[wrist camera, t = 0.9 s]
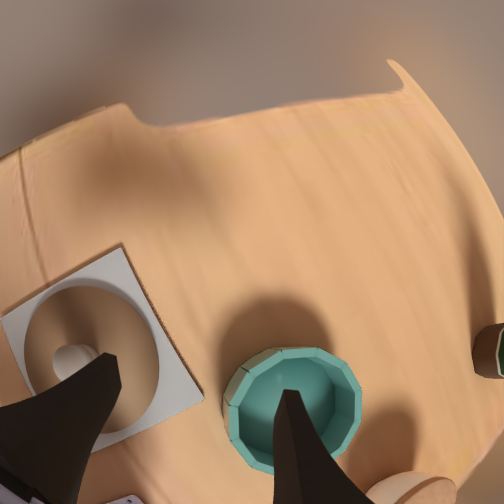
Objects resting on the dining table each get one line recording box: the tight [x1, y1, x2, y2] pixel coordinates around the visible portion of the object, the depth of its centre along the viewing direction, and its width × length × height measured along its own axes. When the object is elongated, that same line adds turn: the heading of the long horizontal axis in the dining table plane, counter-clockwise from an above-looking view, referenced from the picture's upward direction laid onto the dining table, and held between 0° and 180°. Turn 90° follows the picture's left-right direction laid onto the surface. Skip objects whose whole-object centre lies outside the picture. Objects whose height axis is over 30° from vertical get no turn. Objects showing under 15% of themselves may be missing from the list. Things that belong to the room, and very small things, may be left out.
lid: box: [24, 286, 159, 434], centre depth 20 cm, size 13×13×4 cm
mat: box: [0, 247, 205, 453], centre depth 22 cm, size 15×15×1 cm
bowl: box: [223, 346, 362, 475], centre depth 22 cm, size 11×11×4 cm
